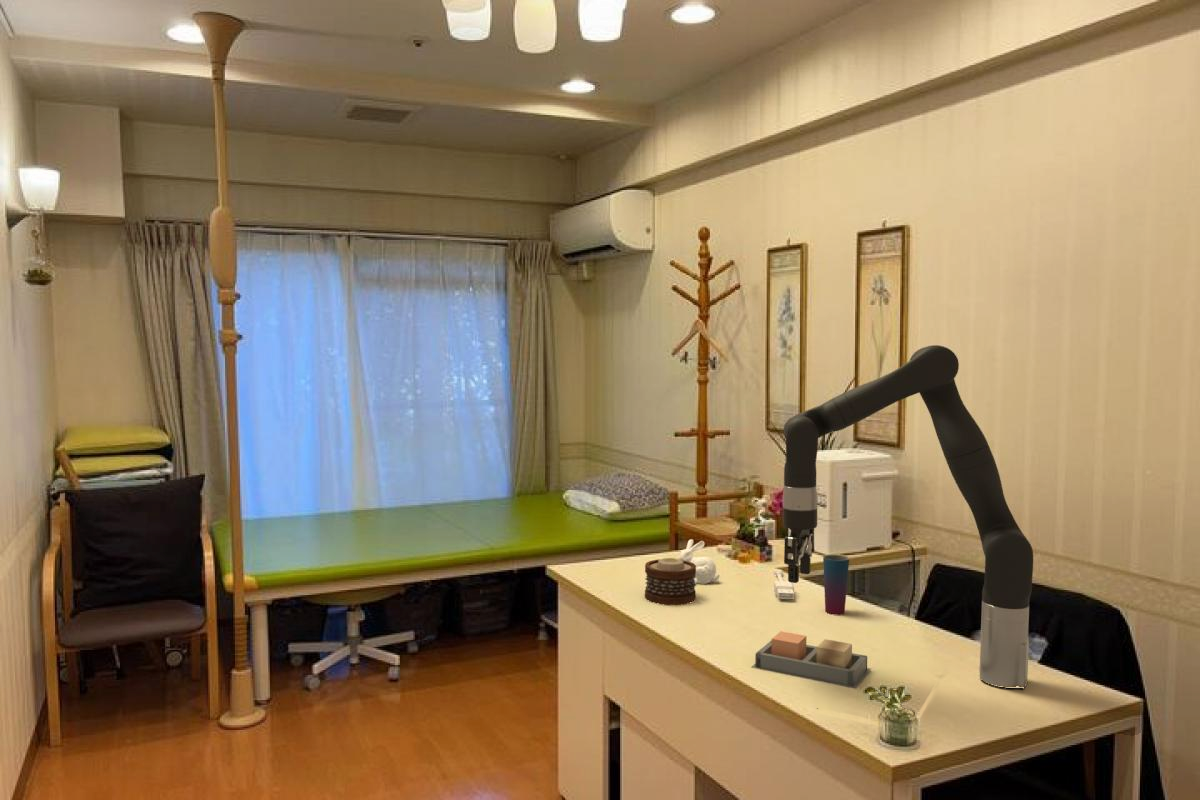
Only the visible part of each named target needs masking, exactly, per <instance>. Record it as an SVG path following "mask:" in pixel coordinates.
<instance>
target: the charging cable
mask: <svg viewBox="0 0 1200 800" xmlns="http://www.w3.org/2000/svg"><path fill="white" fill-rule="evenodd" d="M783 573H784V572H783V570H782V569H773V575H776V576H775V577H777V579H778V580H775V581H774V582H773V583H774V584H773V587H774V589H773V592H774V595H775V597H776V598H777V597H778V598H777V599H780V600H781V599H783V600H794V599H795V588H794V583H792V582H789V581H788V580H783V576H784V574H783ZM782 575H783V576H782Z"/></svg>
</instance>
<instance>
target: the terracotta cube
mask: <svg viewBox="0 0 1200 800" xmlns="http://www.w3.org/2000/svg"><path fill="white" fill-rule="evenodd" d="M771 640H772V649H771V654H772V655H777V656H782V657H787V658H793V659H798V660H803V659H804V658H805V657H806V645H807V635H805V634H804V635H803V634H798V633H792V632H787V631H779V632H778V633H777V634H776V635H774V636H773V637H772V638H771Z"/></svg>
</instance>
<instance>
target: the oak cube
mask: <svg viewBox="0 0 1200 800" xmlns="http://www.w3.org/2000/svg"><path fill="white" fill-rule="evenodd" d="M816 647H817V663H819V664H824V665H829V666H834V667H839V668H845V669H850V668H851V667H852V653H853V644H852V643H848V642H842V641H838V640H832V639H827V638H824V640H822V641H821V643H819V644H818V645H817V646H816Z"/></svg>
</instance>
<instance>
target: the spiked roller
mask: <svg viewBox="0 0 1200 800" xmlns="http://www.w3.org/2000/svg"><path fill="white" fill-rule="evenodd" d="M644 573H645V575H646V576H645V578H644V579H645V580H646V582H645V585H646V586H645V590H644V598H645V599H646V601H648V600H649V601H648V602H650V601H651V602H650V603H653V602H654V604H657V603H659V604H658V605H663V604H664V606H665V605H666V606H682V605H681V604H683V605H686V604H687V603H688V604H691V603H690V602H692V603H693V602H695V601H696V589H695V588H696V587H697V584H695V580H694V579H693V578H695V577H696V575H695V574H696V565H695V564H694V563H691V562H689V561H684V560H679V558H675V557H666V558H661V559H660V558H659V559H654V560H653V559H652V560H648V561H647V562H646V563H645V566H644ZM694 600H695V601H694Z"/></svg>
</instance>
